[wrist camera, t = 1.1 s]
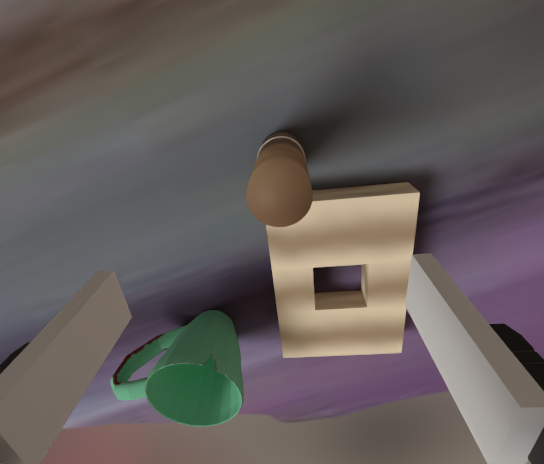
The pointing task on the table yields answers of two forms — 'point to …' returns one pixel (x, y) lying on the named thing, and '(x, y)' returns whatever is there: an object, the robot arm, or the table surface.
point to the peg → (280, 182)
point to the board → (340, 252)
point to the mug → (188, 372)
